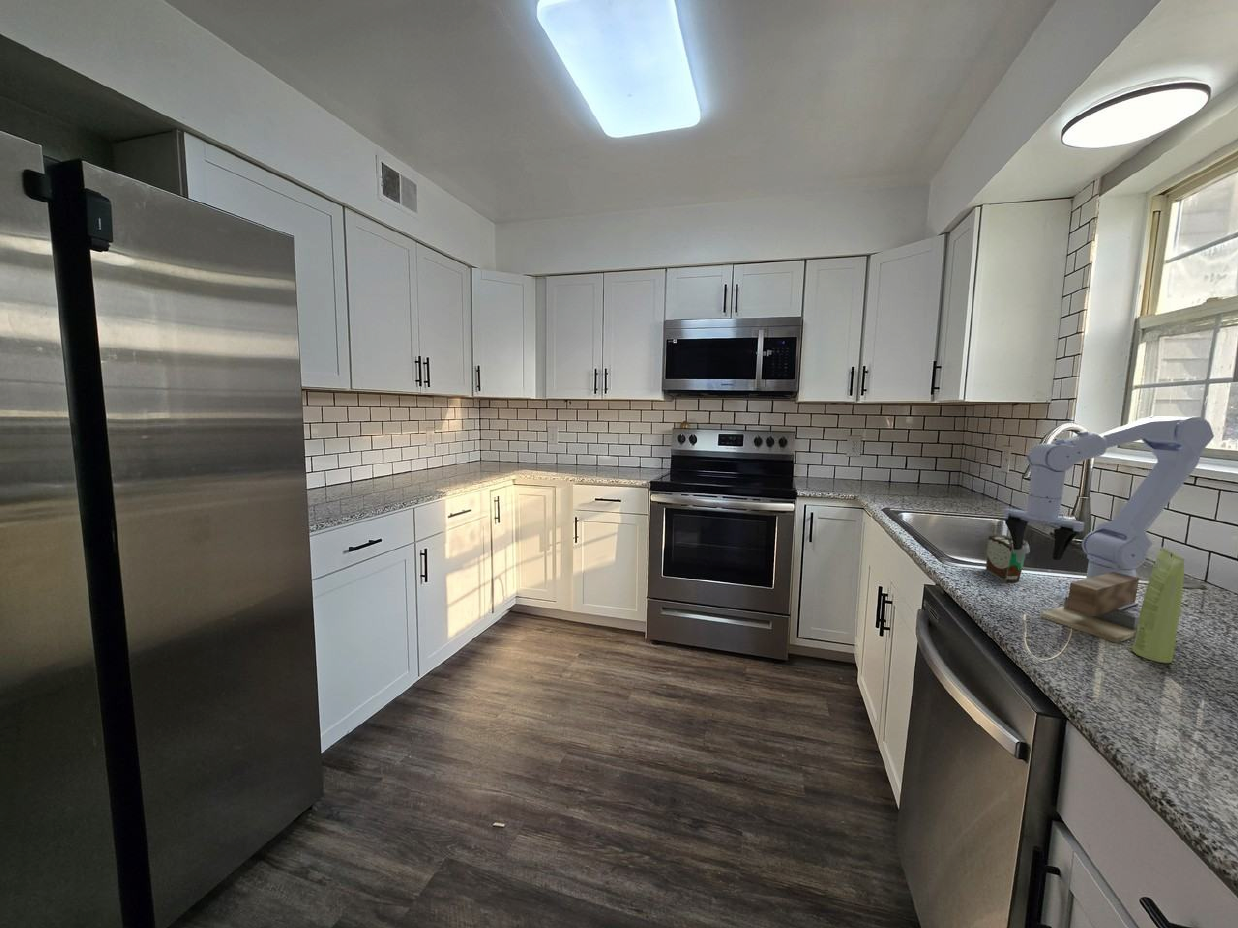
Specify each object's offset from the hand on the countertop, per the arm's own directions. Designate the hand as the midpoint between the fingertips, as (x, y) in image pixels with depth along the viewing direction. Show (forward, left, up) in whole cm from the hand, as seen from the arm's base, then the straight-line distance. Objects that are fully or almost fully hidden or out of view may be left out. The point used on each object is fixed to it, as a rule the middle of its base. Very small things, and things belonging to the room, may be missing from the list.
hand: (1036, 554), depth 112 cm
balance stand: (+2, +13, -10) cm, 17 cm away
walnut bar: (+2, +13, -7) cm, 15 cm away
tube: (+12, +24, -11) cm, 29 cm away
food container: (-11, -10, -11) cm, 18 cm away
